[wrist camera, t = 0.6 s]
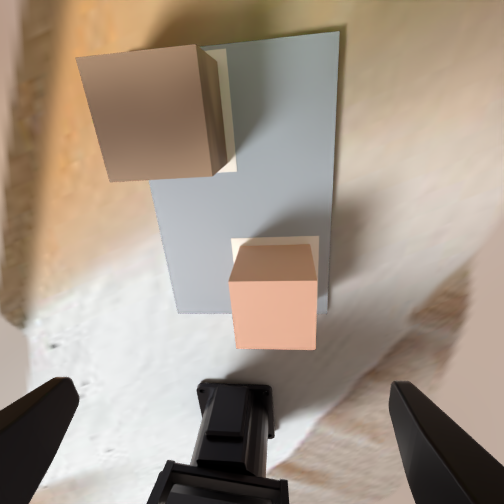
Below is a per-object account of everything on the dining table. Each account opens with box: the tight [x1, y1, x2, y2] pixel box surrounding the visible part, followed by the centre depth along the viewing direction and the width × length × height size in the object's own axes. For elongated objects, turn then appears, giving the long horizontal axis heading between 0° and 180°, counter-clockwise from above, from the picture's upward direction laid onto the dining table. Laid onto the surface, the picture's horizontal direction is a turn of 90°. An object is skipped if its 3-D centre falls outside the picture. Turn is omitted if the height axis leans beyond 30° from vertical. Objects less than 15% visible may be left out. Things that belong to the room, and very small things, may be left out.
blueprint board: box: [149, 31, 340, 314], centre depth 18 cm, size 16×12×1 cm
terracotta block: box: [228, 244, 317, 350], centre depth 18 cm, size 4×4×4 cm
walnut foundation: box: [76, 44, 228, 182], centre depth 14 cm, size 5×5×4 cm
